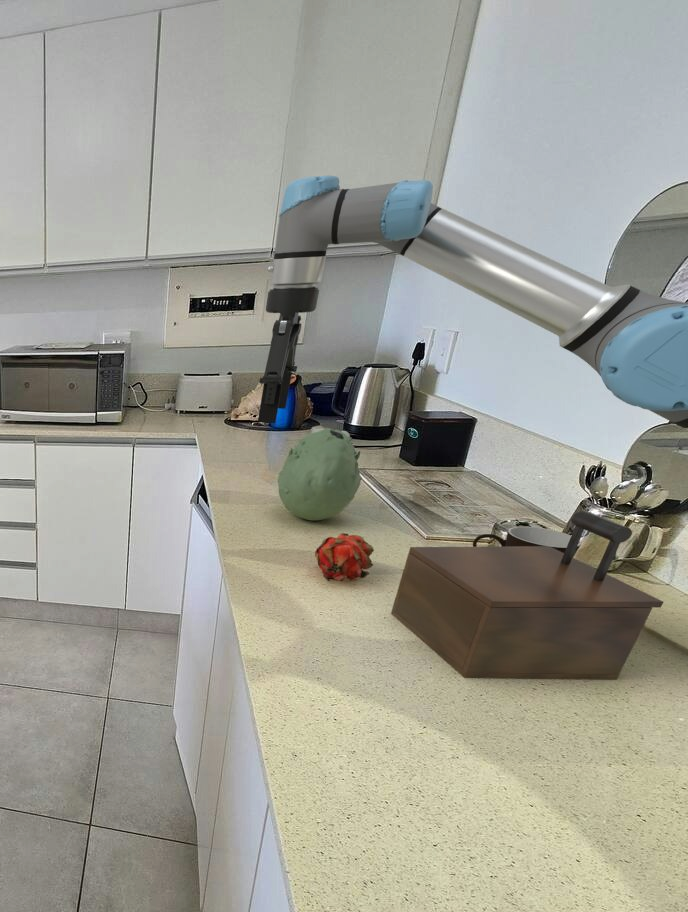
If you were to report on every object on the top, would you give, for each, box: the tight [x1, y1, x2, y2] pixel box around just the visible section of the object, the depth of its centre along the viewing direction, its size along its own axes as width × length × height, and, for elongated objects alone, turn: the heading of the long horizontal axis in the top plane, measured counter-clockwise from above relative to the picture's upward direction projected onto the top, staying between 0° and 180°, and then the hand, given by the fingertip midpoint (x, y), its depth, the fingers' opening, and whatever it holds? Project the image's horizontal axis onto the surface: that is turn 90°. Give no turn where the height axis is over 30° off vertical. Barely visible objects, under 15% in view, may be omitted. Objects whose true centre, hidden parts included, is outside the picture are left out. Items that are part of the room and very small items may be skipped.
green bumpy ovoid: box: [277, 425, 363, 521], centre depth 125 cm, size 16×19×20 cm
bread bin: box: [390, 551, 653, 680], centre depth 81 cm, size 19×17×11 cm
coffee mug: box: [472, 526, 582, 558], centre depth 96 cm, size 12×9×10 cm
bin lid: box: [408, 510, 664, 609], centre depth 77 cm, size 20×17×8 cm
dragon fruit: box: [314, 532, 375, 582], centre depth 102 cm, size 8×8×12 cm
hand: (272, 415), depth 104 cm, fingers open, 13 cm apart
